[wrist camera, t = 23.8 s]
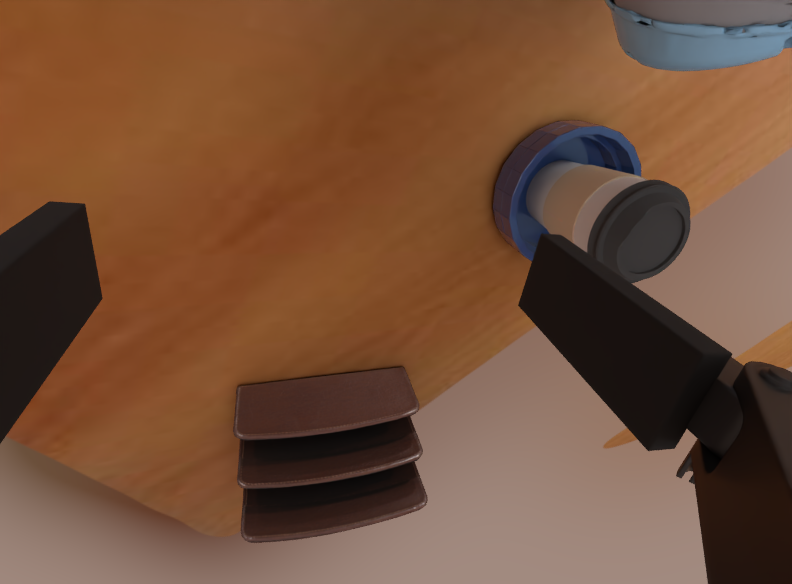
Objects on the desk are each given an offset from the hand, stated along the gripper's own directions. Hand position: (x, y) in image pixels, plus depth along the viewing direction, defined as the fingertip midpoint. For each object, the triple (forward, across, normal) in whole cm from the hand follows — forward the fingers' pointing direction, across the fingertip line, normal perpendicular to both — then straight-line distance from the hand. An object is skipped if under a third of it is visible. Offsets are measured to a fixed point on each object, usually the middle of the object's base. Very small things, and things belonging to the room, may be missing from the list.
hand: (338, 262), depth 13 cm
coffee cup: (+30, +27, -4) cm, 41 cm away
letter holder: (+30, +4, -33) cm, 45 cm away
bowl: (+31, +27, -4) cm, 41 cm away
